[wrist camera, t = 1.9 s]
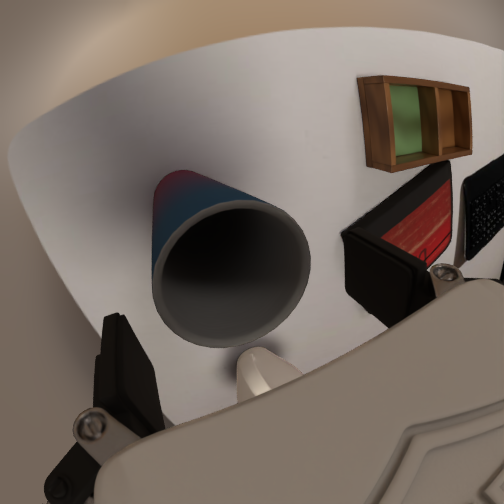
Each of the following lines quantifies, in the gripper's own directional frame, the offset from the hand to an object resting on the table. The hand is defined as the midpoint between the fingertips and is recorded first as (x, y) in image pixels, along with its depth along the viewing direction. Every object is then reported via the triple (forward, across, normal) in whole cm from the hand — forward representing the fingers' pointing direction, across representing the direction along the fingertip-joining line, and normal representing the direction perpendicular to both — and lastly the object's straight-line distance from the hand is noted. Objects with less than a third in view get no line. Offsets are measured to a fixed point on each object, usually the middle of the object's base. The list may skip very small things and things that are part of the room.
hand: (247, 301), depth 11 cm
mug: (+16, -2, +19) cm, 25 cm away
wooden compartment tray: (+16, -30, -4) cm, 34 cm away
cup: (+16, 0, -1) cm, 16 cm away
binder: (+16, -28, +12) cm, 35 cm away
